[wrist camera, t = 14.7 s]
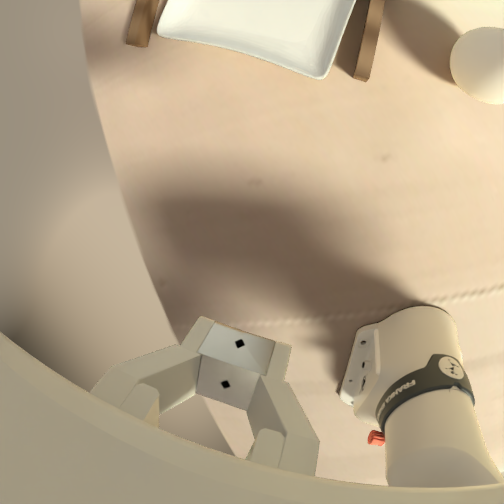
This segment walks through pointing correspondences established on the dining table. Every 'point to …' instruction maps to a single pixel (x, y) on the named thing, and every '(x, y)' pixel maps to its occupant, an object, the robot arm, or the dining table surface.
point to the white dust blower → (480, 64)
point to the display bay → (149, 4)
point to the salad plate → (264, 29)
